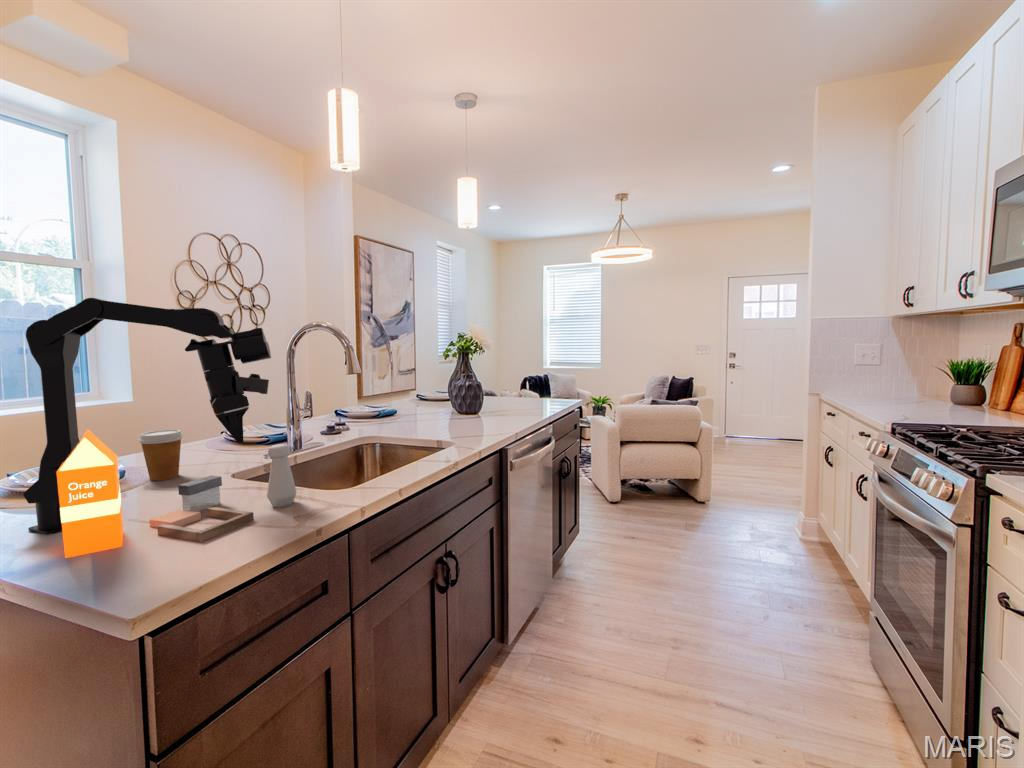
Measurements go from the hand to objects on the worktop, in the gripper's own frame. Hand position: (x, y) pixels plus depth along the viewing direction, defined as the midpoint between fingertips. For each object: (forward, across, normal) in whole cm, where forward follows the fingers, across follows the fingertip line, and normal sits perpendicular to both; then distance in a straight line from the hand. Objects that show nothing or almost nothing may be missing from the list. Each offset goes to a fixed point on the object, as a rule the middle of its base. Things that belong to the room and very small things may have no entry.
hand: (238, 439), depth 108 cm
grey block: (+13, +4, +10) cm, 17 cm away
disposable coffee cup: (+10, +39, +18) cm, 44 cm away
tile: (+12, -4, +14) cm, 19 cm away
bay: (+13, -10, +10) cm, 19 cm away
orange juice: (+10, -8, +26) cm, 29 cm away
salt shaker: (+16, -4, -4) cm, 17 cm away
